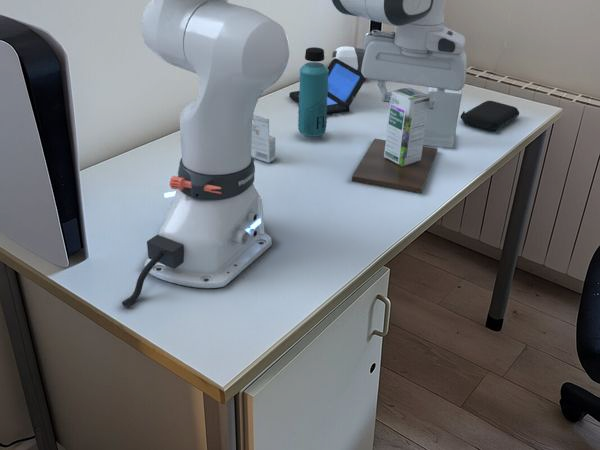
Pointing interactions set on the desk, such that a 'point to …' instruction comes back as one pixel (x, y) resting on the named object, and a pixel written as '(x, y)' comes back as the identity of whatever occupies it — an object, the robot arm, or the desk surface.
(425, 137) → the white packaging box
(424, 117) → the syrup box
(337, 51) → the giant panda
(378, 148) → the walnut board
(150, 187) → the desk surface
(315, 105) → the beverage bottle
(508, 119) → the carrying case
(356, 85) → the game console
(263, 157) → the ink cartridge box
